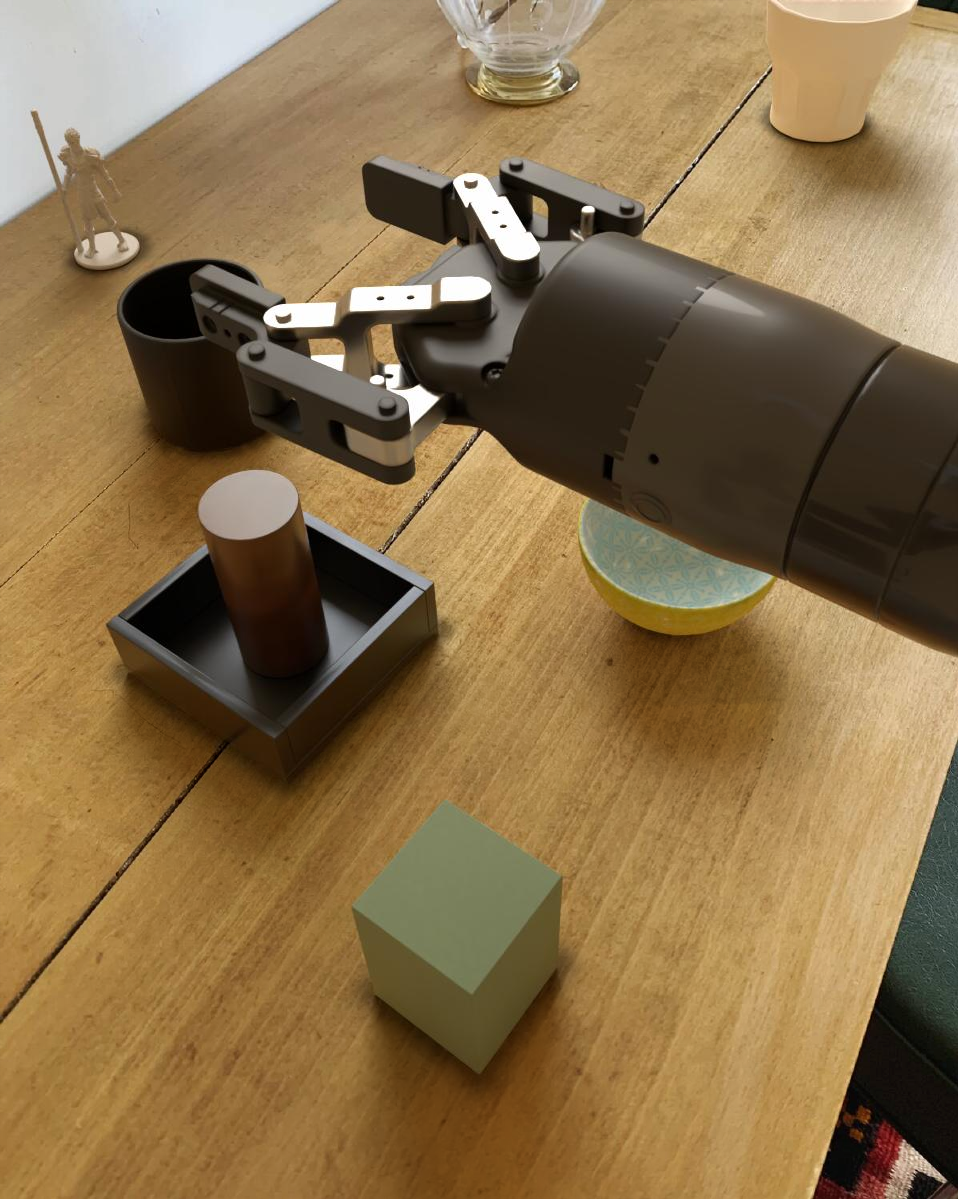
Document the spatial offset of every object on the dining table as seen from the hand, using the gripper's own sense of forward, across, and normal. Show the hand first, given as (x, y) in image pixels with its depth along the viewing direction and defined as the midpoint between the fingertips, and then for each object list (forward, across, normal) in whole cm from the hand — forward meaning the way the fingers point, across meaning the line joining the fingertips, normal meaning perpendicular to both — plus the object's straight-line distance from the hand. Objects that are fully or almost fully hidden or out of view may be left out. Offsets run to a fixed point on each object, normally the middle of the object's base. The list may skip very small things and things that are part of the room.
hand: (289, 236), depth 39 cm
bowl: (-9, -16, +29) cm, 34 cm away
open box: (+7, 0, +29) cm, 29 cm away
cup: (+9, -74, +29) cm, 80 cm away
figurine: (+48, -22, +29) cm, 60 cm away
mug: (+27, -13, +29) cm, 42 cm away
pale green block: (-13, +9, +29) cm, 33 cm away
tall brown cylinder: (+7, 0, +28) cm, 29 cm away
